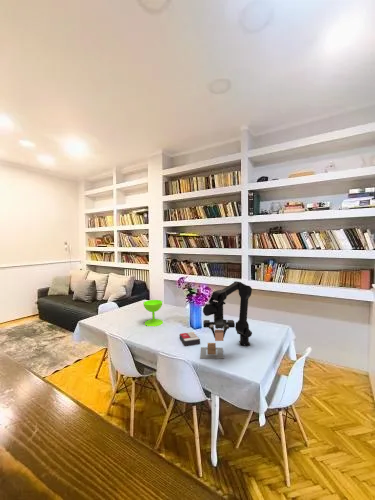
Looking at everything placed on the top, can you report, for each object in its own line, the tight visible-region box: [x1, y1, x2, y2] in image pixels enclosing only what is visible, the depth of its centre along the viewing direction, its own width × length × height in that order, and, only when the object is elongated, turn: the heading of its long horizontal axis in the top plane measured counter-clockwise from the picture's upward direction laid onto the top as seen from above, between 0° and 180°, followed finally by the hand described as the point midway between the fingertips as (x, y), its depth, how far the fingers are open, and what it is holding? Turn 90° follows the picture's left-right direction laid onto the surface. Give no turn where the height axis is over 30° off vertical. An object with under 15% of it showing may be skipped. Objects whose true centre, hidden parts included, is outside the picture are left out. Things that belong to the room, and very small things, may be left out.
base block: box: [207, 342, 217, 354], centre depth 155 cm, size 5×5×5 cm
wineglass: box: [143, 299, 164, 327], centre depth 211 cm, size 16×16×18 cm
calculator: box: [179, 331, 201, 347], centre depth 174 cm, size 11×4×15 cm
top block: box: [214, 329, 225, 342], centre depth 152 cm, size 5×5×5 cm
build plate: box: [199, 346, 224, 360], centre depth 155 cm, size 14×14×1 cm
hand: (219, 337), depth 152 cm, fingers closed on top block, 5 cm apart
